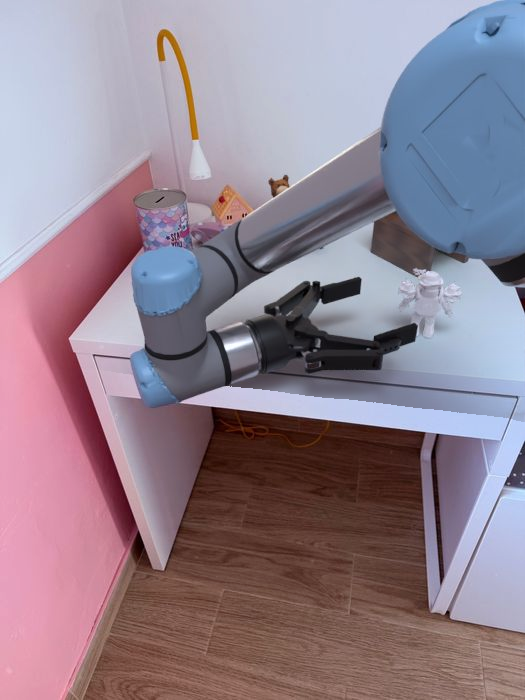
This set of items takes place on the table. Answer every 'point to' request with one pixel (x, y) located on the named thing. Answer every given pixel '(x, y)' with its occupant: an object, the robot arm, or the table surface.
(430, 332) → the hat wearing toy figure
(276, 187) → the bear figurine
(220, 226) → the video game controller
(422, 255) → the rack
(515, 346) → the table surface
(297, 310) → the robot arm
